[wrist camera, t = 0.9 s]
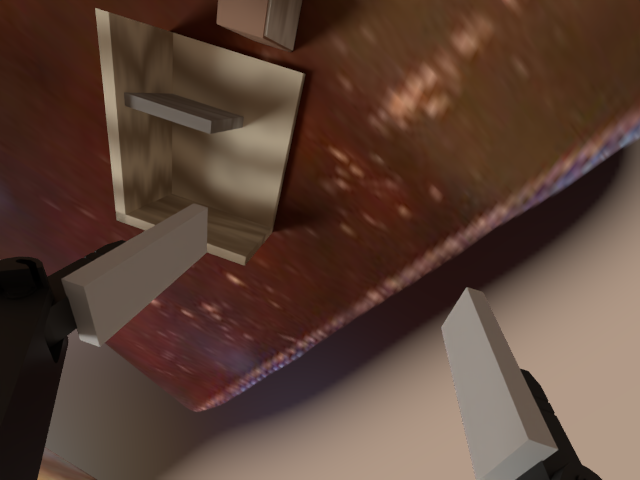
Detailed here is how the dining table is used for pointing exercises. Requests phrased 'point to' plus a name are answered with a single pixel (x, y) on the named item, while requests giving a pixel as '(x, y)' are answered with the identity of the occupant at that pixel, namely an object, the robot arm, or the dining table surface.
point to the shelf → (195, 132)
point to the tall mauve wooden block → (262, 20)
